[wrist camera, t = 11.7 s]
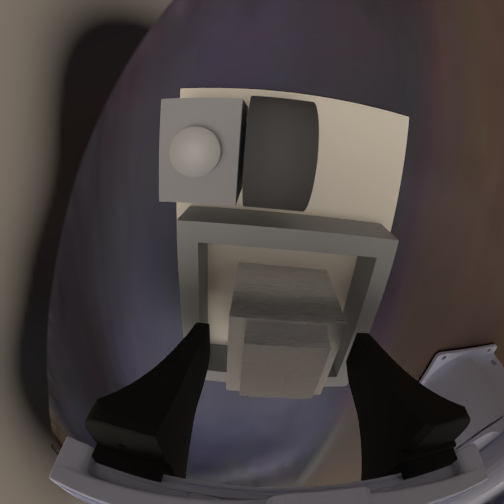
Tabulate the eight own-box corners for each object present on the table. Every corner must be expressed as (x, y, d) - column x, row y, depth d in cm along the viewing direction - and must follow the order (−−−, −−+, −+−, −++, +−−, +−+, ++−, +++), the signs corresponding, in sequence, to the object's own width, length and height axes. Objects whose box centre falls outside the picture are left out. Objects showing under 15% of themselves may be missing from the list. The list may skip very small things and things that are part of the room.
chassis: (402, 117, 13) (459, 117, 8) (346, 355, 20) (361, 411, 15) (184, 90, 13) (145, 72, 8) (187, 345, 20) (169, 402, 15)
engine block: (326, 269, 16) (351, 336, 11) (310, 335, 18) (321, 406, 13) (239, 262, 16) (226, 328, 11) (234, 330, 18) (224, 401, 13)
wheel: (309, 107, 12) (331, 96, 8) (300, 197, 14) (315, 228, 10) (254, 101, 12) (249, 87, 8) (247, 193, 14) (239, 221, 10)
